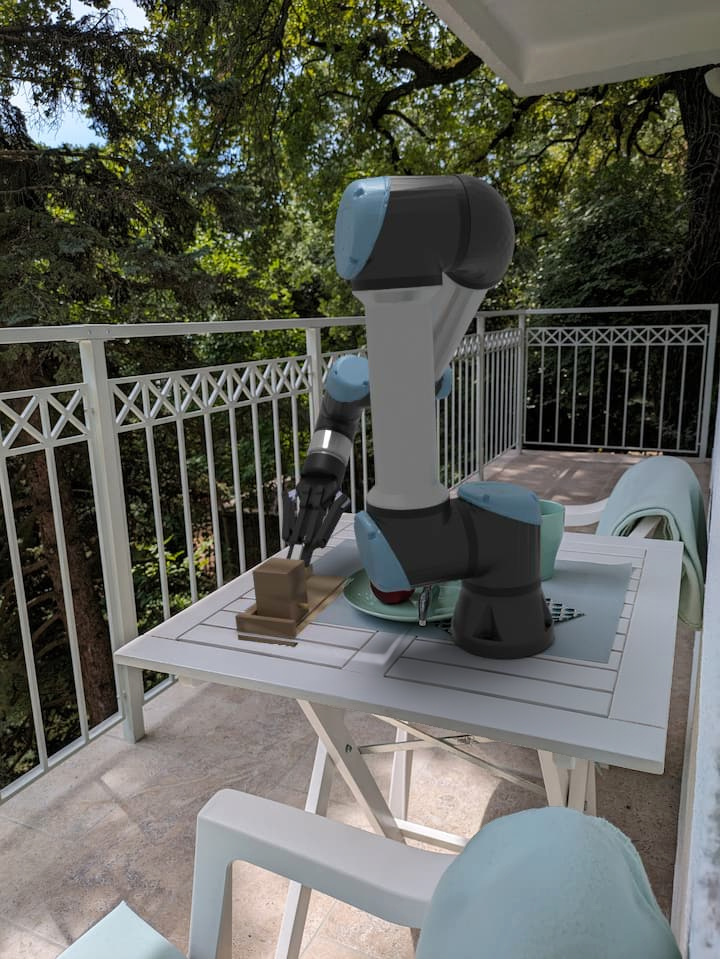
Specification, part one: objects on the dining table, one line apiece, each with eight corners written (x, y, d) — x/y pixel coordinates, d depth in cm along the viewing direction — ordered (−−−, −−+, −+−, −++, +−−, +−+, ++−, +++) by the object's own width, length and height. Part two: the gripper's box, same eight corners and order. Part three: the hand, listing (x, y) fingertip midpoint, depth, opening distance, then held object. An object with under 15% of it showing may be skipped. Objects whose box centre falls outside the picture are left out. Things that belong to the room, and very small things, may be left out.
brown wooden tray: (306, 581, 136) (304, 561, 135) (356, 586, 132) (354, 565, 131) (238, 639, 115) (235, 616, 114) (294, 647, 111) (292, 623, 110)
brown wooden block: (276, 608, 121) (271, 557, 119) (317, 613, 118) (313, 561, 116) (258, 623, 116) (252, 571, 114) (301, 629, 113) (295, 575, 111)
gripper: (366, 473, 132) (335, 596, 121) (302, 471, 137) (266, 588, 126) (352, 451, 126) (318, 578, 115) (286, 449, 131) (247, 571, 120)
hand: (291, 583), depth 121 cm, fingers closed
